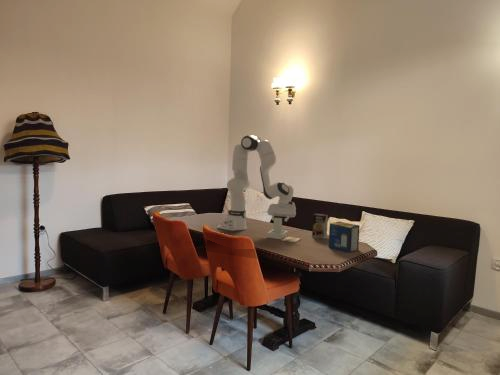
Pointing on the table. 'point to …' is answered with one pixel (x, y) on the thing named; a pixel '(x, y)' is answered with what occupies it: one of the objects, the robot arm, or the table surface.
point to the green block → (277, 225)
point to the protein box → (344, 236)
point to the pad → (291, 239)
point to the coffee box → (320, 226)
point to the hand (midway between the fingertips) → (279, 220)
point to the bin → (276, 235)
